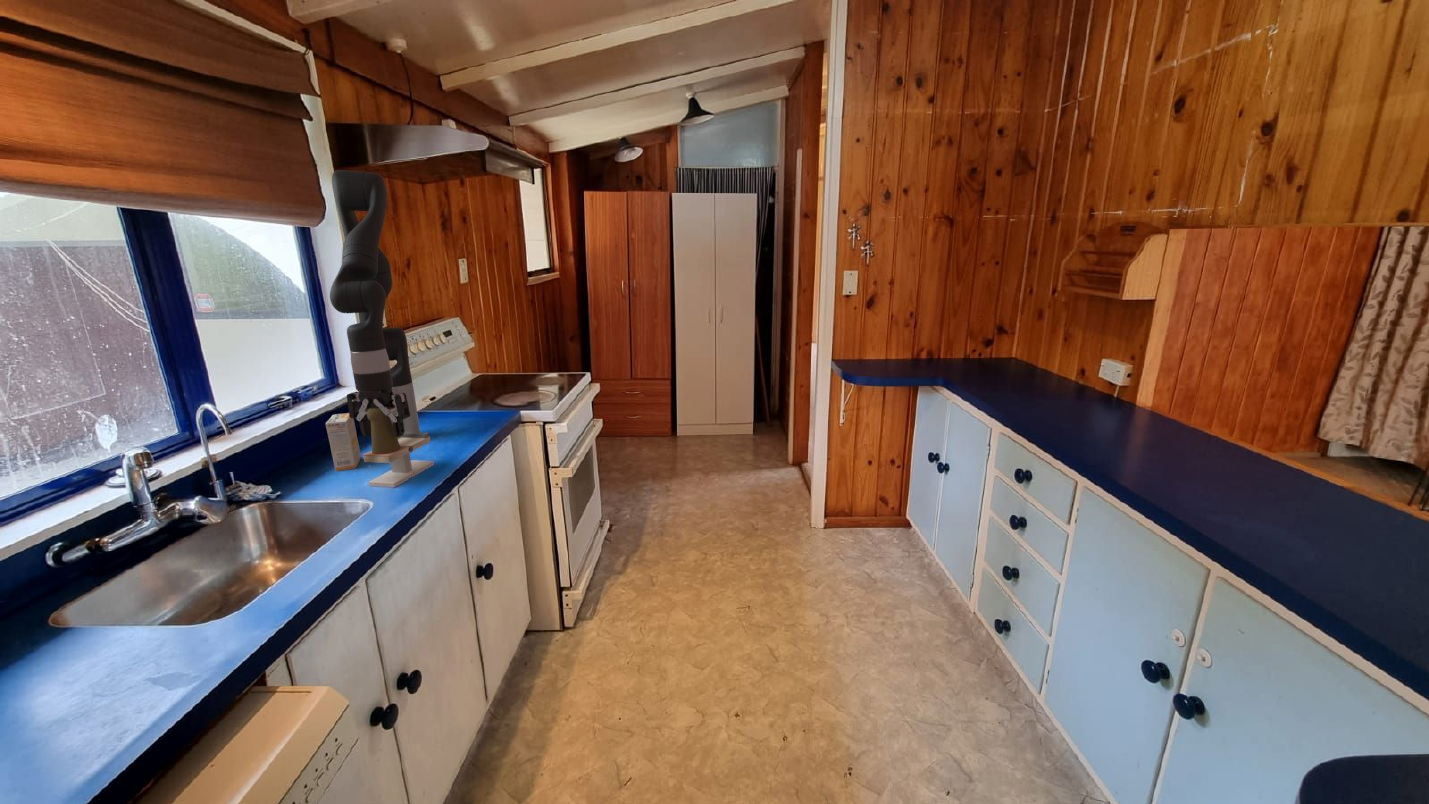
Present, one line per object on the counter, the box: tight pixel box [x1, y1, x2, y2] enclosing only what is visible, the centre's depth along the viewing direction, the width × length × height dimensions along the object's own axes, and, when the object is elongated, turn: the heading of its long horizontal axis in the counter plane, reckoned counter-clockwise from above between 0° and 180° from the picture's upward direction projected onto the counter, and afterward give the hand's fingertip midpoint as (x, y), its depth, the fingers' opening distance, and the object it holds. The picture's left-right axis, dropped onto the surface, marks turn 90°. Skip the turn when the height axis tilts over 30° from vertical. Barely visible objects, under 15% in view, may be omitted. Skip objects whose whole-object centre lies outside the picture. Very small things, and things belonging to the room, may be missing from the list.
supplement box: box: [325, 412, 362, 472], centre depth 148 cm, size 8×5×13 cm, turn 22°
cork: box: [367, 408, 400, 455], centre depth 135 cm, size 6×6×11 cm
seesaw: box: [362, 431, 431, 464], centre depth 140 cm, size 7×15×2 cm, turn 170°
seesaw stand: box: [367, 453, 435, 488], centre depth 141 cm, size 7×15×6 cm, turn 170°
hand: (383, 435), depth 135 cm, fingers open, 8 cm apart
